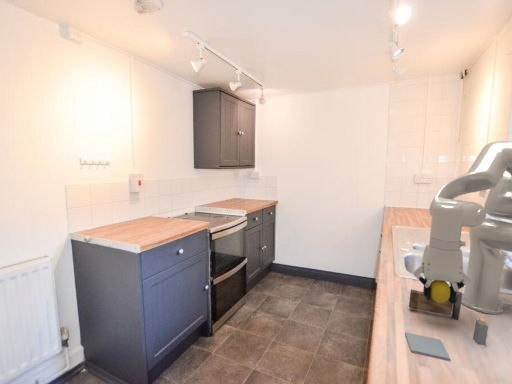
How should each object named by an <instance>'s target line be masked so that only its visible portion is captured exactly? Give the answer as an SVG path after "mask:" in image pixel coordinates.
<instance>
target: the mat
mask: <svg viewBox="0 0 512 384" xmlns="http://www.w3.org/2000/svg"><path fill="white" fill-rule="evenodd" d="M404 336H405V338H406V342H407V345H408V348H409V351H410V353H413V354H417V355H418V354H419V355H424V356H427V357H432V358H436V359H440V360H444V361H449V362H450V361H451V357H450V355H449V353H448V351H447V349H446V347H445V346H444V343H443V342H442V340H441V339H439V338H434V337H431V336H430V337H429V336H426V335H420V334H416V333H410V332H406V331H405V332H404Z"/></svg>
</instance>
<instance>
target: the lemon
mask: <svg viewBox="0 0 512 384" xmlns="http://www.w3.org/2000/svg"><path fill="white" fill-rule="evenodd" d="M430 288H431V295H430V296H431V298H432V299H433V300H435V301H436V302H437V303H443V302H446V301H447V300H448V299H449V298H450V285H449V283H448V282H447V281H439V280H433V281H432V282H431V284H430Z"/></svg>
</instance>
